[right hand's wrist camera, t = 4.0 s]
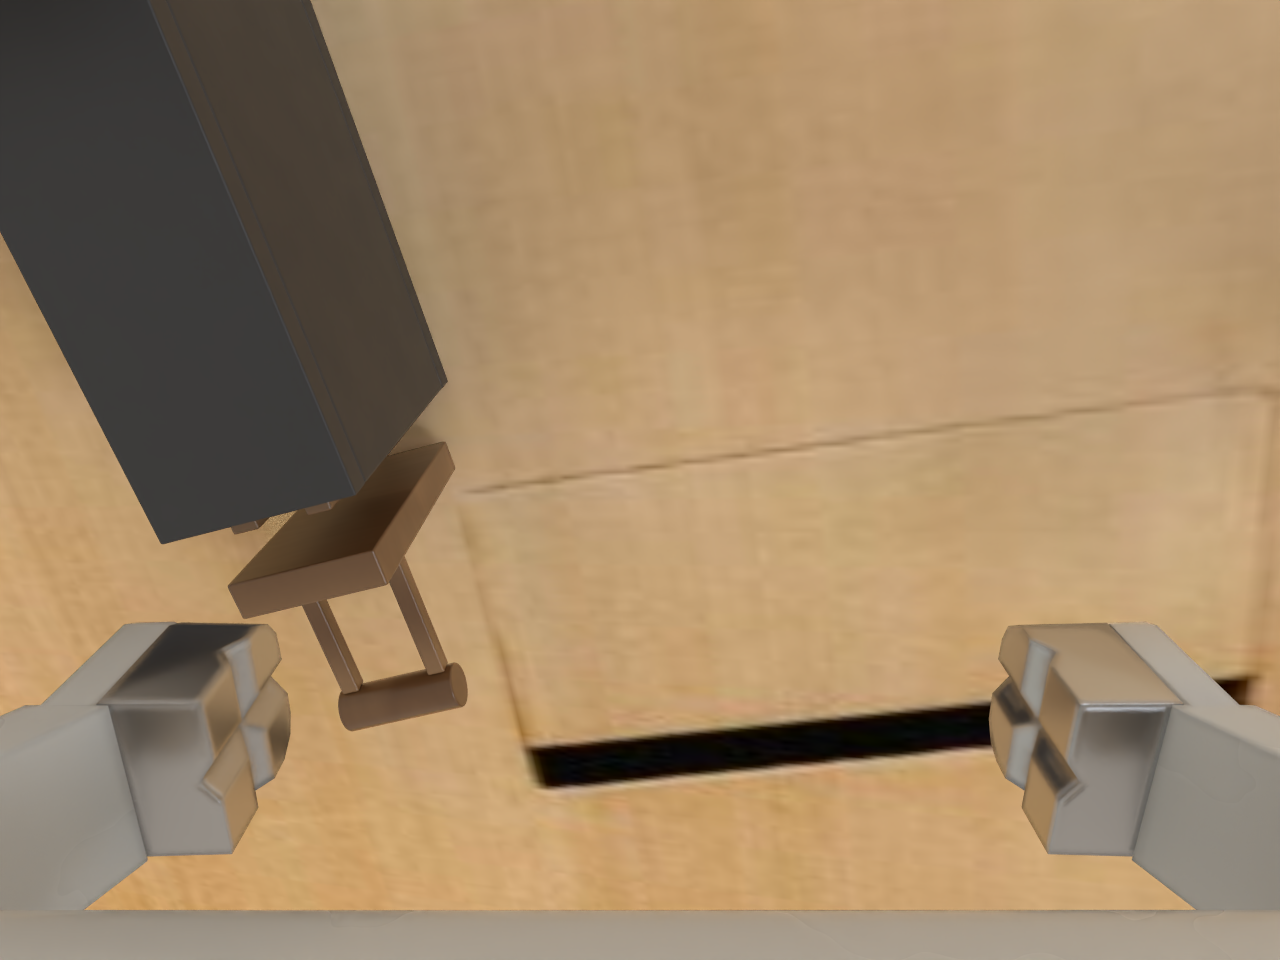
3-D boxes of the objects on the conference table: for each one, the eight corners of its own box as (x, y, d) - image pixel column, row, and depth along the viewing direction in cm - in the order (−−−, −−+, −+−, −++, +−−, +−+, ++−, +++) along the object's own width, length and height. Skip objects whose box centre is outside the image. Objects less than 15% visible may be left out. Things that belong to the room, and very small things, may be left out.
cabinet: (448, 381, 35) (356, 495, 24) (308, 418, 36) (160, 545, 25) (230, -221, 28) (-31, -428, 17) (62, -161, 29) (-288, -325, 18)
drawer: (505, 602, 38) (458, 751, 29) (400, 626, 38) (322, 781, 29) (258, -65, 29) (80, -146, 20) (127, -20, 29) (-105, -81, 20)
